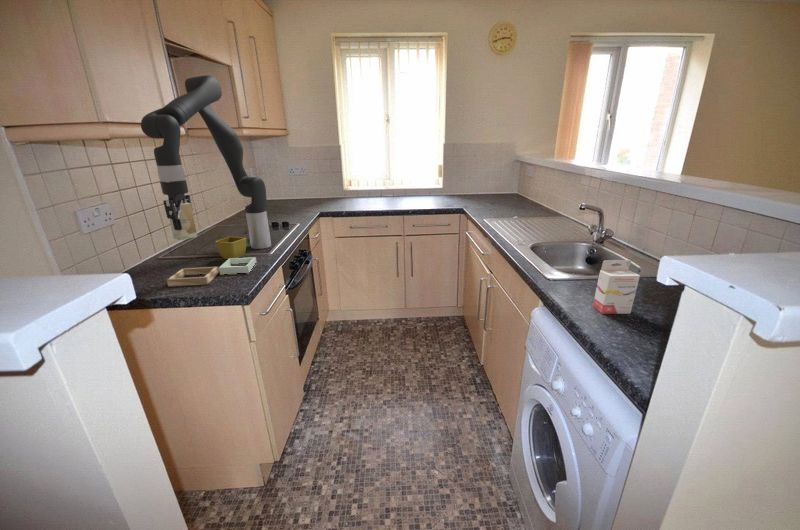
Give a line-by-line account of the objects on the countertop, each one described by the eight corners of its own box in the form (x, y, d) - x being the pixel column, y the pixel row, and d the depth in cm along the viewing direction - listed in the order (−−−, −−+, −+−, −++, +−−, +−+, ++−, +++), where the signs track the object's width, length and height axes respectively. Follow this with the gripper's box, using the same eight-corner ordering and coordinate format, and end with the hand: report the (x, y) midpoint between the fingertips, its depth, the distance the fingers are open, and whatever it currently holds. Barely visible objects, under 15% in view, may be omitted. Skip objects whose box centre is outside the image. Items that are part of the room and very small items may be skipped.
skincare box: (181, 240, 118) (173, 205, 114) (173, 239, 120) (165, 204, 116) (198, 236, 123) (191, 202, 119) (190, 235, 125) (183, 201, 121)
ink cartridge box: (602, 314, 96) (612, 265, 92) (592, 306, 101) (601, 259, 96) (631, 313, 97) (643, 264, 92) (620, 306, 101) (630, 259, 96)
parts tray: (229, 265, 141) (228, 258, 140) (256, 263, 143) (255, 257, 142) (220, 274, 130) (218, 267, 130) (249, 273, 132) (247, 266, 131)
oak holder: (183, 274, 131) (182, 268, 130) (219, 272, 133) (218, 266, 132) (168, 286, 120) (166, 279, 119) (207, 284, 122) (206, 277, 121)
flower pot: (249, 257, 152) (246, 237, 149) (235, 263, 144) (232, 242, 141) (233, 255, 154) (229, 236, 151) (218, 261, 146) (214, 241, 143)
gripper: (171, 177, 121) (181, 223, 126) (149, 181, 108) (161, 232, 113) (193, 177, 122) (203, 222, 127) (174, 181, 109) (186, 231, 114)
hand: (183, 227), depth 120 cm, fingers closed on skincare box, 7 cm apart
